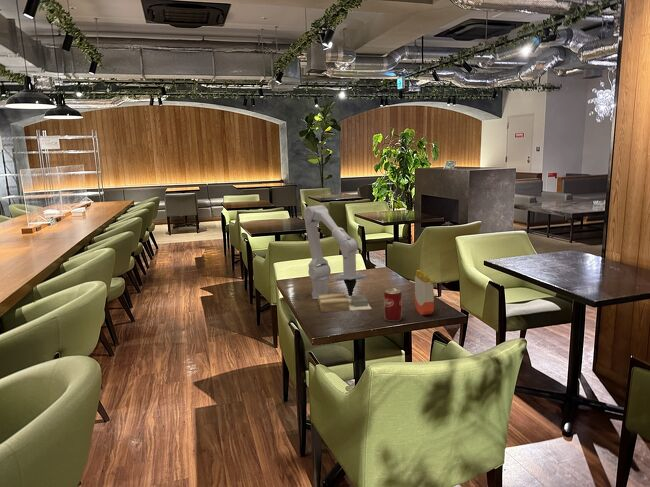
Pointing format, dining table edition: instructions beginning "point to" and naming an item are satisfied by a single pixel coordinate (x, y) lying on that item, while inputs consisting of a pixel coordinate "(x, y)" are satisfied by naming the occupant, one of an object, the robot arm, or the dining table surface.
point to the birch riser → (333, 302)
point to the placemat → (353, 308)
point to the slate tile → (359, 300)
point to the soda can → (392, 305)
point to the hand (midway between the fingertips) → (350, 295)
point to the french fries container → (424, 293)
